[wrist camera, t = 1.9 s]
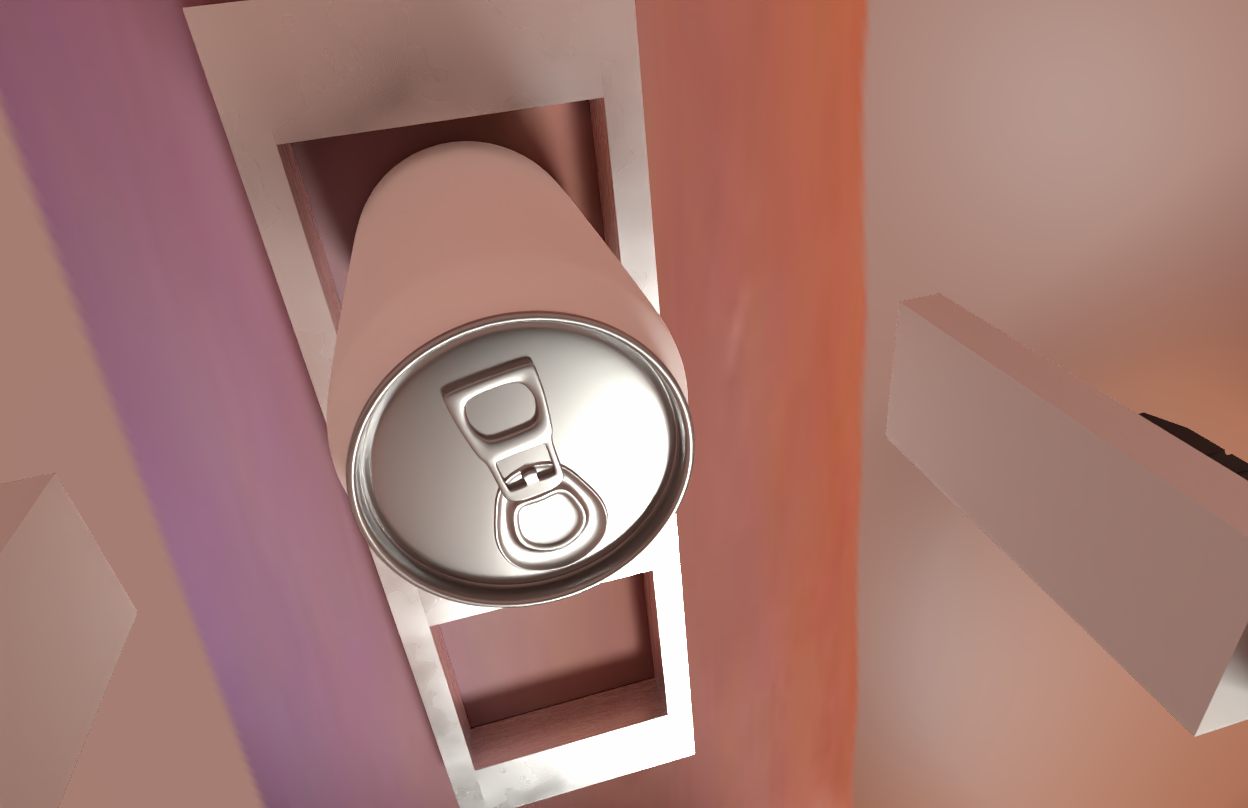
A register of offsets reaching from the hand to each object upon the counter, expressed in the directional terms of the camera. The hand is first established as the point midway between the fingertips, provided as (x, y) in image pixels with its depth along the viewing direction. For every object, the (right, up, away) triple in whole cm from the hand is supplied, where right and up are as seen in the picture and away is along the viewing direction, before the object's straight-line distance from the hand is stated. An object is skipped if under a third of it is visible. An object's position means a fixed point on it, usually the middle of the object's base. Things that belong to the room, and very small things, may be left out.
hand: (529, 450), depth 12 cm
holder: (-2, -2, +14) cm, 14 cm away
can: (-3, +5, +10) cm, 12 cm away
